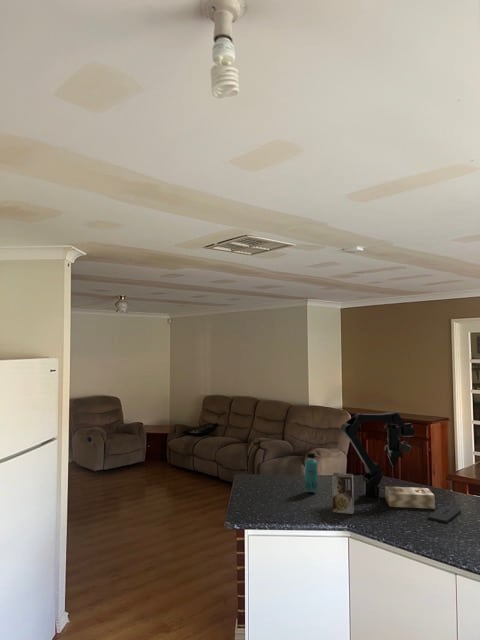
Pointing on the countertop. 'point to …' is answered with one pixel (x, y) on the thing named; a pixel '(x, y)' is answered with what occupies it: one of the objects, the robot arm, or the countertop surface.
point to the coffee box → (343, 493)
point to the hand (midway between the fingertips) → (394, 468)
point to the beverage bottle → (311, 473)
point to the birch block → (409, 497)
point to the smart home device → (444, 514)
